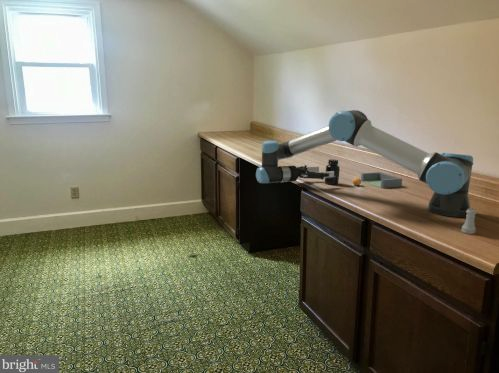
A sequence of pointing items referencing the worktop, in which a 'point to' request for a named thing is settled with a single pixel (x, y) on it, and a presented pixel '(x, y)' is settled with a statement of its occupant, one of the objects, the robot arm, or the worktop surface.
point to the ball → (356, 181)
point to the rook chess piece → (469, 222)
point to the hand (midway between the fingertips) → (325, 171)
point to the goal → (381, 180)
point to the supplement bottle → (334, 167)
